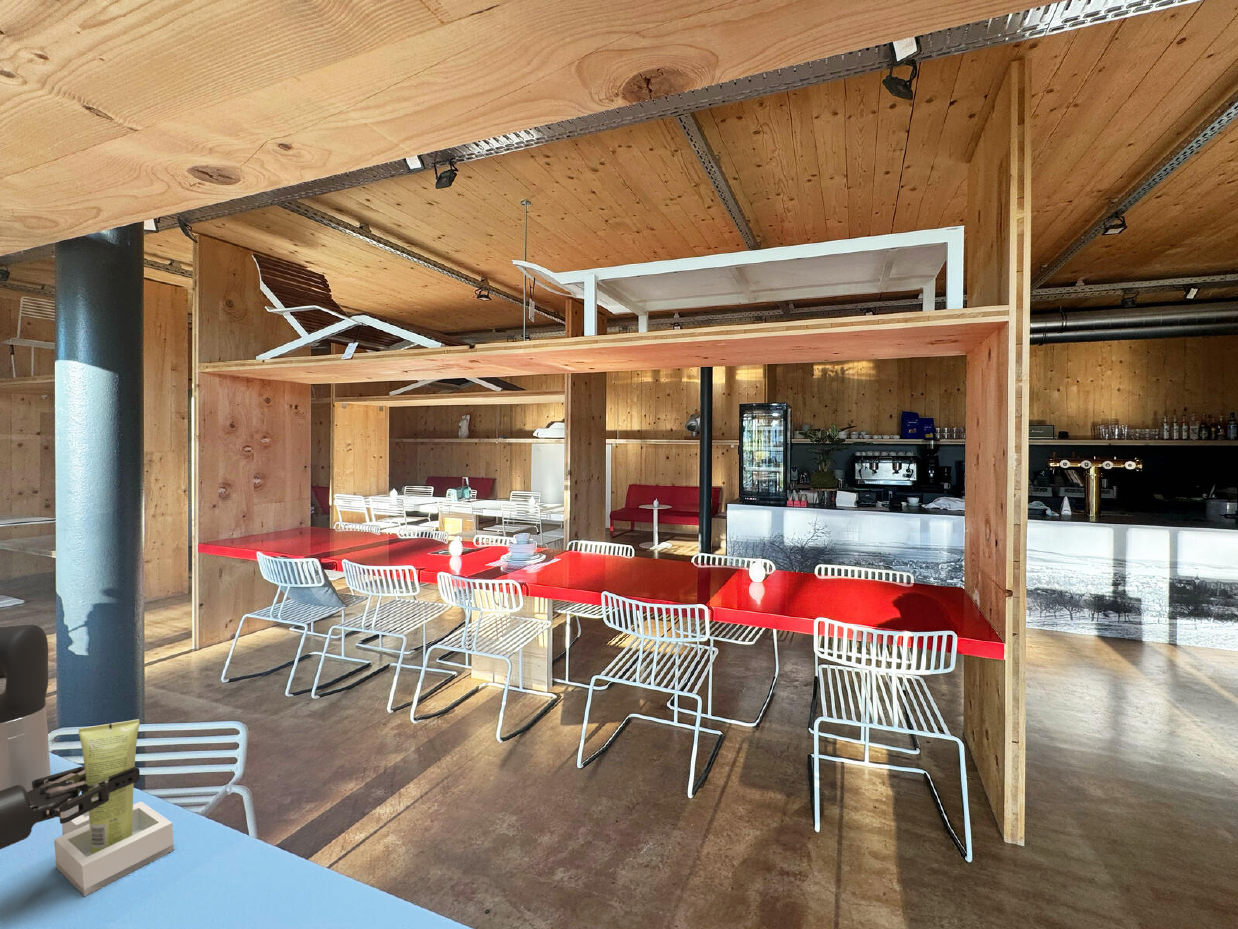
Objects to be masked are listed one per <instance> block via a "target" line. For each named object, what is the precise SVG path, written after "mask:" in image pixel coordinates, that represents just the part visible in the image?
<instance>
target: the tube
mask: <svg viewBox="0 0 1238 929" xmlns="http://www.w3.org/2000/svg"><path fill="white" fill-rule="evenodd" d="M140 721H141V720H140V718H137V719H132V720H126V721H119V722H112V723H106V724H101V725H100V724H99V725H93V726H85V727H79V728H78V736H79V740H80V745H81V751H82V758H83V766H84V767H85V775H86V781H88V782H94V781H97V780H101V779H104V778H108V777H110V776H112V775H115V774H117V773H120V772H123V771H125V770H128V769H130V768H133V767H136V755H137V754H136V751H137V742H138V734H139V727H140V725H141V724H140ZM134 784H135V783H133V784H130V785H128V786H125V787H123V788H120V789H118V790H115V791H113V792H111V793H110V795H109V801H108V802H106V803H104V804H102V805H100V806H98V807H96V808H94V809H92V810H90V811H89V823H90V843H91V853H92V854H94V853H96V852H98V851H100V850H103V849H105V848H107V847H109V846H111V845H113V844H115V843H117V842H119V841H122V840H124V839H126V838H128V837H130V836H132V827H133V804H134ZM91 789H93V788H91ZM91 789H89V790H91ZM95 801H96V800H95ZM92 802H94V801H92Z"/></svg>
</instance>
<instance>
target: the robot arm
mask: <svg viewBox="0 0 1238 929" xmlns="http://www.w3.org/2000/svg"><path fill="white" fill-rule="evenodd" d="M4 679H5V689H4V692H1V693H0V850H2V849H5V848H7V847H10V846H12V845H14V844H17V843H20V842H22V841H24V840H26V839H28V838H29V836H30V835H31V833H32V830H33V827H34V825H36V824H37V823H41V822H44V821H49V820H52V819H55V818H59V823H60V824H61V825H62V824H64V823H67V822H69V821H71V820H73V819H75V818H77V817H79V816H81V815H83V814H85V813H86V812H88V811H90V810H92V809H94V808H96V807H98V806H100V805H102V804H104V803H106V802H108V801H109V795H110V793H111V792H113V791H115V790H118V789H120V788H123V787H125V786H128V785H130V784H133V783H134V784H135V783H137V782H138V781H140V778H141V776H140V775H141V774H140V773H141V772H140V768H139V767H137V766H135V767H133V768H130V769H128V770H125V771H123V772H120V773H117V774H115V775H112V776H110V777H108V778H104V779H101V780H97V781H94V782H88V781H86V775H85V766H84V765H83V766H79V767H76V768H72V769H68V770H65V771H61V772H57V773H53V774H51V761H50V759H51V758H50V747H49V746H50V745H49V744H50V743H49V736H48V735H49V732H48V719H47V718H48V717H47V706H46V704H47V703H46V696H47V692H48V688H49V687H48V686H49V642H48V638H47V634H46V632H45V631H44V629H43V628H42V627H40V625H36V624H21V625H9V626H7V625H6V626H0V680H4ZM91 788H93V789H91ZM89 789H91V790H89ZM80 793H81V794H80ZM95 800H96V801H95ZM92 801H94V802H92Z"/></svg>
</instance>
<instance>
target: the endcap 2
mask: <svg viewBox="0 0 1238 929" xmlns="http://www.w3.org/2000/svg"><path fill="white" fill-rule="evenodd" d="M173 830H174V829H173V822H172V821H170V820H169V819H167V818H166V817H165V816H163V815H161V814H160V813H159V812H158V811H156V810H155V809H153V808H151V807H150V806H148V805H147V804H146V803H144V802H143V801H138V802H136V803H133V827H132V836H130V837H128V838H126V839H124V840H122V841H119V842H117V843H115V844H113V845H111V846H109V847H107V848H105V849H103V850H100V851H98V852H96V853H94V854H92V853H91V843H90V824H88V825H86V826H83V827H81V828H79V829H76V830H74V831H72V832H70V833H67V834H65V835H63V834H62V835H61V836H59V837H56V838H54V839H53V840H54V852H55V853H54V855H55V867H56V869H57V870H58V871H59V872H60V873H61V875H63V876H64V878H66V880H67V881H69V882H70V884H71V885H73V886H74V888H76V890H77V891H78V892H80V894H81V895H82V896H84V897H86V896H88V895H91V894H93V893H95V892H96V891H98V890H100V889H102V888H104V887H105V886H108V885H110V884H112V883H114V882H115V881H118V880H120V879H122V878H123V877H125V876H127V875H130V874H131V873H134V872H135V871H137V870H139V869H141V868H142V867H144V866H146V865H149V864H150V863H152V862H154V861H156V860H158V859H159V858H162V857H164V856H166V855H168V854H169V852H170V853H171V852H174V851H175V850H174V849H175V848H174V847H175V845H174V831H173Z"/></svg>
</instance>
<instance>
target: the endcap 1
mask: <svg viewBox="0 0 1238 929" xmlns="http://www.w3.org/2000/svg"><path fill="white" fill-rule="evenodd" d="M88 824H90V823H89V811H88V812H86V813H85V814H83V815H81V816H79V817H77V818H75V819H73V820H71V821H69V822H67V823H64V824H61V829H62V836H63V835H65V834H67V833H70V832H72V831H74V830H76V829H79V828H81V827H83V826H86V825H88Z"/></svg>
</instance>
